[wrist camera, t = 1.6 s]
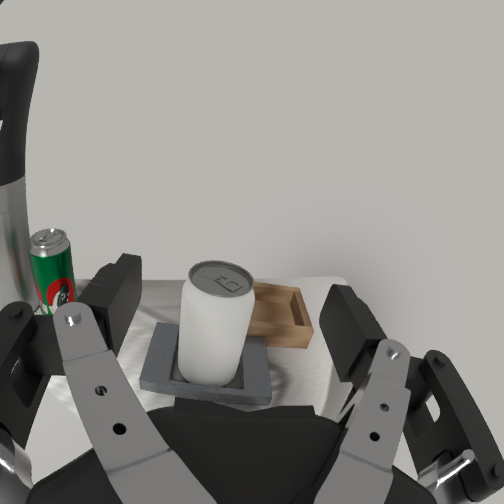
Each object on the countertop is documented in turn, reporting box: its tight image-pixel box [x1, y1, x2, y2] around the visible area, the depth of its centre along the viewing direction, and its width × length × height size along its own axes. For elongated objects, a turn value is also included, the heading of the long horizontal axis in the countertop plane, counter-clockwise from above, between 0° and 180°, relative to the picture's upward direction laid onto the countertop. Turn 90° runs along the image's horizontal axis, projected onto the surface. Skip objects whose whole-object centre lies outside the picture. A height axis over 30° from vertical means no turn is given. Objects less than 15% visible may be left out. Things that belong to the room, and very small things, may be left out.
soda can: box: [28, 229, 77, 315], centre depth 25 cm, size 5×5×12 cm
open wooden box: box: [246, 282, 314, 349], centre depth 38 cm, size 10×10×3 cm
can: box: [178, 261, 255, 387], centre depth 26 cm, size 6×6×12 cm
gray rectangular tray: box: [139, 322, 272, 405], centre depth 28 cm, size 13×9×2 cm
